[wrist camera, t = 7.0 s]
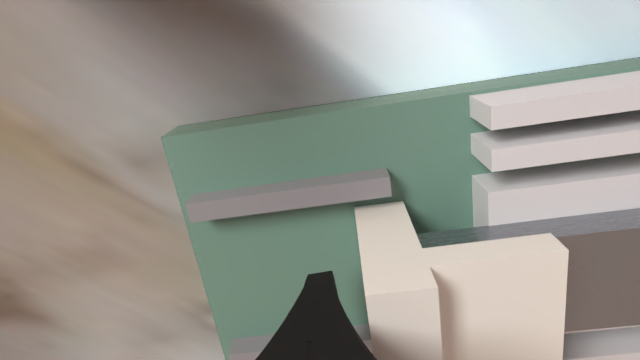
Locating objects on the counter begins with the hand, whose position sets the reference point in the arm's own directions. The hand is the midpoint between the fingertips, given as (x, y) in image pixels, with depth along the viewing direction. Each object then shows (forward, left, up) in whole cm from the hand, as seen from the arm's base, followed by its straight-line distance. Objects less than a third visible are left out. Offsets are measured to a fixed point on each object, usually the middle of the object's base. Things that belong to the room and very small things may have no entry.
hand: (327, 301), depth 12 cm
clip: (-3, 0, -2) cm, 4 cm away
